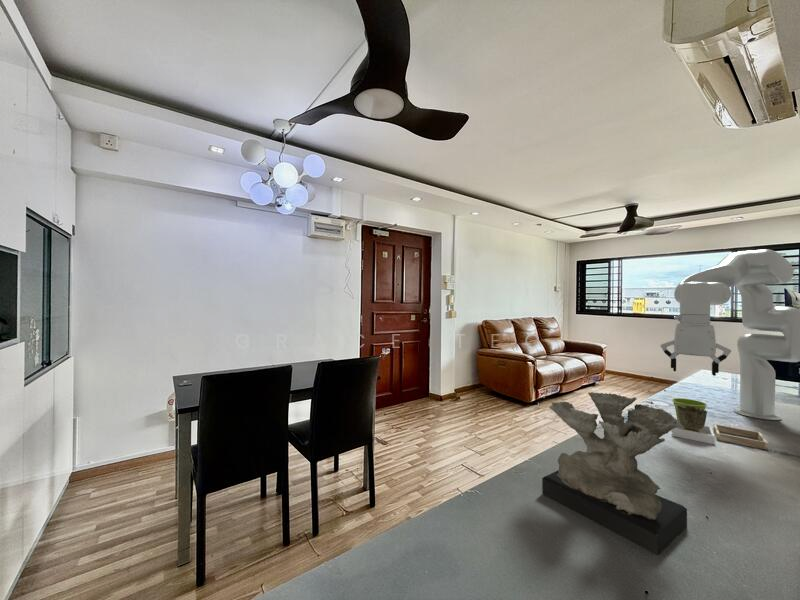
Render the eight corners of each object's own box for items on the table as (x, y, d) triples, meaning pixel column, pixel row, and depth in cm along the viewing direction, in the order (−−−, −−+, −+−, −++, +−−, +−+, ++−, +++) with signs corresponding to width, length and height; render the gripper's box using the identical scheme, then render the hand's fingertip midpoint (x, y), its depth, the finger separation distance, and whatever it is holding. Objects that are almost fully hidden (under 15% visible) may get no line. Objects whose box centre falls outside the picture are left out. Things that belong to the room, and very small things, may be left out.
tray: (672, 427, 117) (672, 419, 117) (711, 434, 111) (711, 427, 111) (672, 435, 109) (672, 428, 109) (714, 444, 103) (714, 436, 103)
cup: (697, 430, 113) (697, 406, 113) (712, 438, 106) (713, 413, 106) (671, 427, 115) (672, 404, 115) (685, 436, 108) (685, 410, 108)
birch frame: (713, 429, 116) (713, 423, 116) (760, 438, 109) (760, 432, 109) (717, 439, 107) (717, 433, 107) (767, 449, 100) (768, 442, 100)
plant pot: (665, 423, 120) (666, 399, 121) (680, 420, 124) (680, 396, 124) (697, 433, 112) (698, 407, 112) (712, 429, 116) (713, 404, 116)
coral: (527, 486, 78) (529, 392, 78) (578, 464, 88) (580, 382, 88) (655, 557, 56) (658, 427, 56) (701, 518, 67) (703, 409, 67)
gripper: (660, 319, 113) (659, 370, 113) (733, 322, 102) (732, 378, 102) (661, 318, 119) (660, 367, 119) (729, 321, 108) (728, 374, 108)
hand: (693, 372), depth 110 cm, fingers open, 9 cm apart
